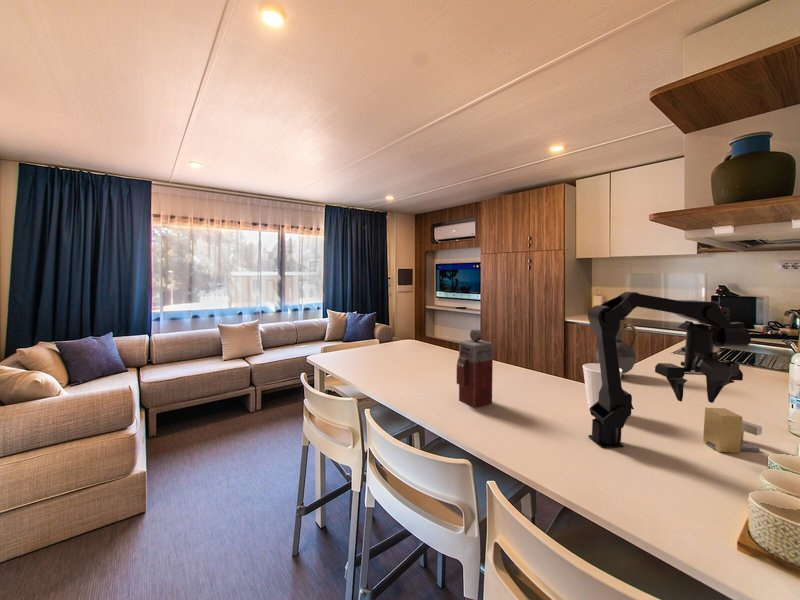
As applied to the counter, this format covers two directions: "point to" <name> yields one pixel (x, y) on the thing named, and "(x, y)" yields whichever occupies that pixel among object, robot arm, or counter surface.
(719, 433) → the tan rectangular block
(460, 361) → the dark red tall piece
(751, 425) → the rig
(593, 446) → the counter surface
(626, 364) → the pitcher
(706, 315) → the robot arm
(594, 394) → the cup
